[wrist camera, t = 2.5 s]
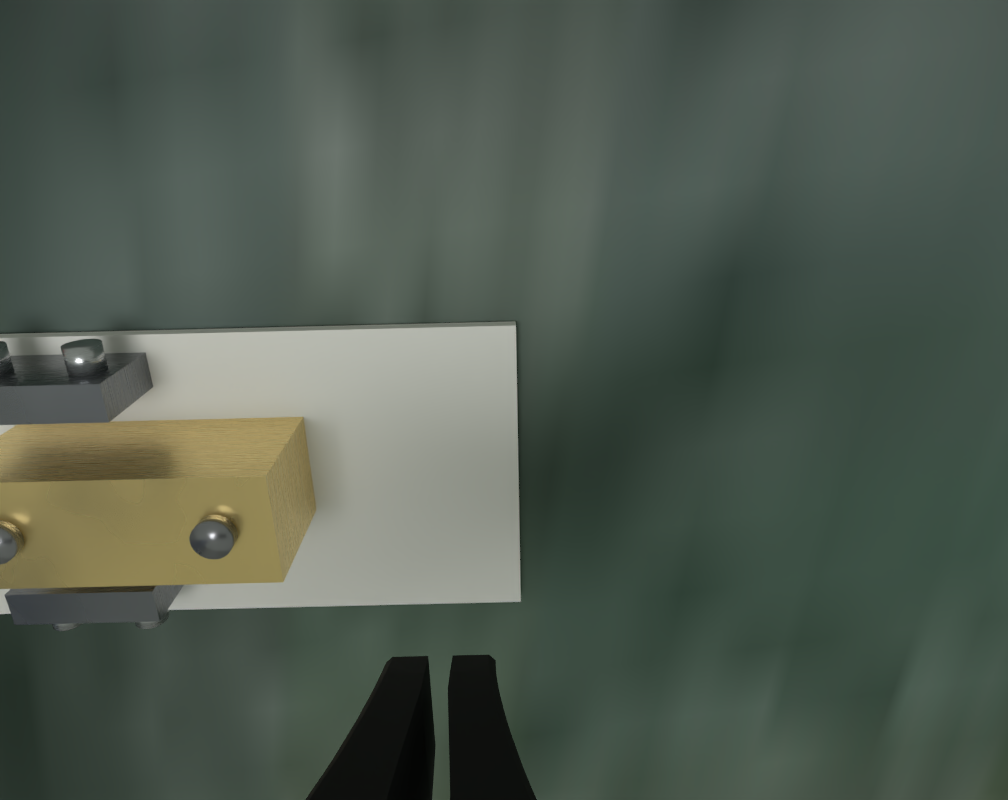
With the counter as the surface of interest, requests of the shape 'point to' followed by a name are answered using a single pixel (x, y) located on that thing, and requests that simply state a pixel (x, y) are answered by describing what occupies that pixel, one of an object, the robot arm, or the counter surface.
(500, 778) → the robot arm
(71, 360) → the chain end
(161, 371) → the mat
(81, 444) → the link
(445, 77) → the counter surface
